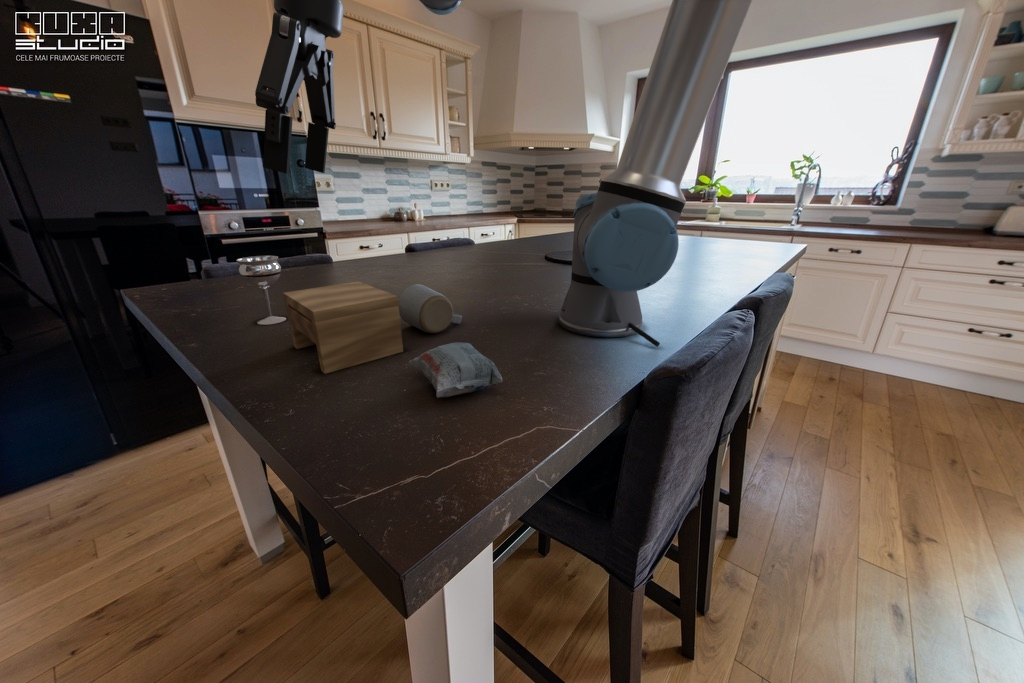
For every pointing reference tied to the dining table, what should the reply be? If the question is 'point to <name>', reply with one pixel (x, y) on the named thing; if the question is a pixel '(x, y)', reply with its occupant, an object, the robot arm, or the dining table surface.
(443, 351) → the packaged food
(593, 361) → the dining table surface
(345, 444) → the dining table surface
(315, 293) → the oak stool
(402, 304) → the ceramic mug
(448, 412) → the dining table surface
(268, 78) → the robot arm
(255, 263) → the wineglass
